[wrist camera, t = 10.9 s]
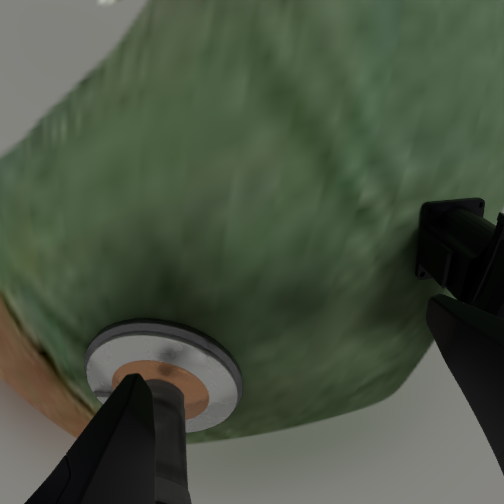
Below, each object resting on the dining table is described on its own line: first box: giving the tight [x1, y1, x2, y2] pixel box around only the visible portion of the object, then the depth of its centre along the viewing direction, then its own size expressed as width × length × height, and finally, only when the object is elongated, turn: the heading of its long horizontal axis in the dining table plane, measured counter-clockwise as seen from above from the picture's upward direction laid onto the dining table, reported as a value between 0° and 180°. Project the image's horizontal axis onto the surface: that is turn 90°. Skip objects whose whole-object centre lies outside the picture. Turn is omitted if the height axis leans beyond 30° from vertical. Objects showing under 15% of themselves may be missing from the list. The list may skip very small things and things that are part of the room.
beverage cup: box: [145, 379, 191, 504], centre depth 17 cm, size 7×7×20 cm
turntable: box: [87, 331, 237, 433], centre depth 26 cm, size 14×14×1 cm
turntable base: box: [85, 319, 243, 409], centre depth 27 cm, size 15×15×1 cm
